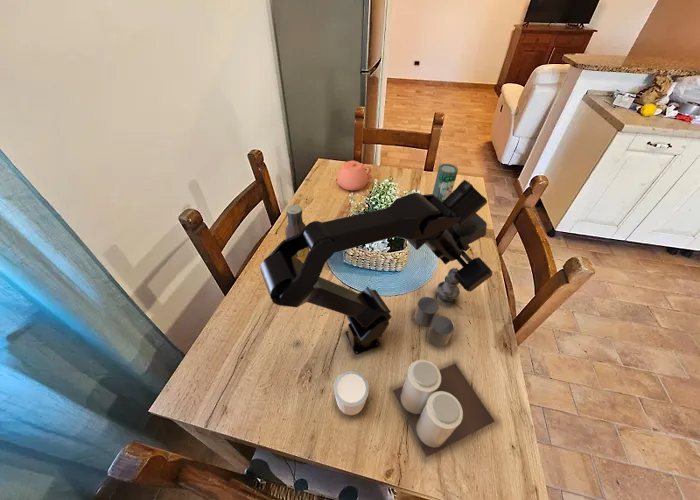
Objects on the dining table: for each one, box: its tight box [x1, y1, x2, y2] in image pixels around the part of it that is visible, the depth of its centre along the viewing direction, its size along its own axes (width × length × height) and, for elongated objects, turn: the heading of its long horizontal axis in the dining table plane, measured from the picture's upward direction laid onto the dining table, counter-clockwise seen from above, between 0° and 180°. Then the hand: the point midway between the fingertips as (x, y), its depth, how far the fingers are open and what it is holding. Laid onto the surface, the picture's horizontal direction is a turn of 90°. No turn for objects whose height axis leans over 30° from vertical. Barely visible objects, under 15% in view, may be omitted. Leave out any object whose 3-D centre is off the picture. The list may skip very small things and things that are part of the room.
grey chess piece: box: [435, 267, 461, 307], centre depth 79 cm, size 6×6×12 cm
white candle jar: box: [333, 370, 370, 416], centre depth 62 cm, size 7×7×7 cm
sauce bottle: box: [284, 204, 310, 263], centre depth 85 cm, size 7×6×20 cm
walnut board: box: [392, 363, 496, 458], centre depth 63 cm, size 16×13×1 cm
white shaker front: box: [416, 391, 463, 447], centre depth 56 cm, size 6×6×12 cm
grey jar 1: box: [413, 296, 440, 327], centre depth 77 cm, size 5×5×6 cm
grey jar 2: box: [426, 315, 455, 348], centre depth 73 cm, size 5×5×6 cm
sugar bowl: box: [336, 160, 373, 191], centre depth 120 cm, size 12×14×10 cm
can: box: [432, 163, 459, 202], centre depth 109 cm, size 6×6×15 cm
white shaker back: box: [401, 359, 441, 414], centre depth 60 cm, size 6×6×12 cm
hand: (463, 262), depth 72 cm, fingers open, 9 cm apart
